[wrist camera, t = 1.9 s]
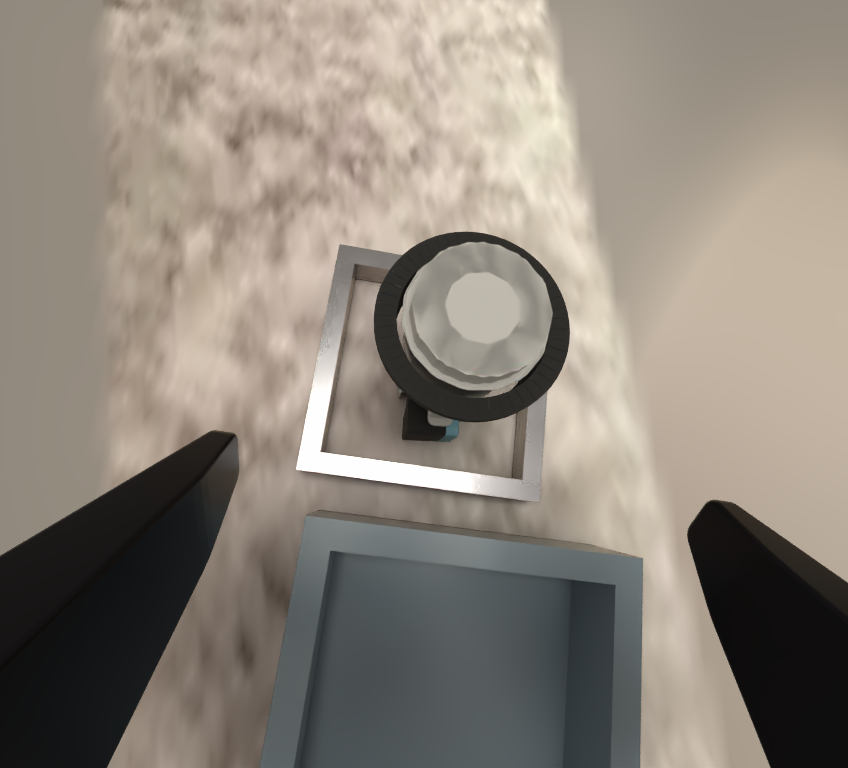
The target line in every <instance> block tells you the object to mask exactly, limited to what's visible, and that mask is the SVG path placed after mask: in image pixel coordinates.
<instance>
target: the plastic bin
mask: <svg viewBox="0 0 848 768" xmlns="http://www.w3.org/2000/svg"><path fill="white" fill-rule="evenodd" d="M642 589H643V558H640V557H636V556H632V555H628V554H624V553H620V552H617V551H613V550H609V549H605V548H601V547H597V546H594V545H589V544H581V543H573V542H566V541H558V540H550V539H542V538H534V537H527V536H519V535H511V534H503V533H495V532H487V531H480V530H472V529H464V528H456V527H448V526H441V525H433V524H425V523H417V522H409V521H401V520H394V519H386V518H378V517H370V516H362V515H355V514H347V513H339V512H331V511H323V510H317V511H315V512H313V513H311V514H308V515H306V517H305V522H304V528H303V533H302V538H301V544H300V549H299V555H298V560H297V566H296V571H295V577H294V582H293V587H292V593H291V598H290V604H289V609H288V615H287V620H286V625H285V631H284V636H283V642H282V647H281V653H280V658H279V664H278V669H277V674H276V680H275V685H274V691H273V696H272V702H271V707H270V713H269V718H268V723H267V729H266V734H265V740H264V745H263V751H262V756H261V762H260V767H259V768H640V728H641V659H642Z"/></svg>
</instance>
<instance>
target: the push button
mask: <svg viewBox="0 0 848 768" xmlns="http://www.w3.org/2000/svg"><path fill="white" fill-rule="evenodd" d="M402 306H403V310H402V327H403V330H404V336H403V343H404V347H405V351H406V355H405V353H404V351H403V348H402V346H401V343H400V340H399V336H398V331H397V322H396V319H397V316H398V313H399V311H400V309H401V307H402ZM374 333H375V341H376V345H377V349H378V352H379V355H380V358H381V361H382V363H383V365H384V367H385V369H386V371H387V372H388V374H389V375H390V377H391V378H392V380H393V381H394V382H395V384H396V385H397V386H398V387H399V390H398V398H400V397H401V393H405V394H406V396H407V404H406V409H405V413H404V417H403V430H402V439H403V440H423V441H444V442H450V441H451V440H452V439H454V438H456V437H457V436H458V431H459V421H463V422H487V421H493V420H498V419H502V418H505V417H508V416H510V415H513V414H515V413H517V412H519V411H521V410H523V409H525V408H527V407H529V406H530V405H531V404H533V403H534V402H536V401H537V400H538V399H539V398H540V397H542V396H543V395H544V394H545V393H546V392H547V391H548V389H549V388H550V387H551V386H552V385H553V383H554V382H555V380H556V379H557V377H558V375H559V373H560V372H561V370H562V367H563V365H564V362H565V359H566V356H567V352H568V346H569V337H570V328H569V318H568V312H567V309H566V305H565V302H564V299H563V297H562V294H561V292H560V290H559V288H558V286H557V284H556V283H555V281H554V280H553V278H552V277H551V275H550V274H549V273H548V271H547V270H546V269H545V268H544V267H543V266H542V265H541V264H540V263H539V261H537V260H536V259H535V258H534V257H533V256H532V255H530V254H529V253H528V252H526V251H525V250H523V249H522V248H520V247H519V246H517V245H515V244H513V243H511V242H509V241H507V240H505V239H502V238H499V237H496V236H493V235H489V234H484V233H477V232H454V233H447V234H443V235H439V236H435V237H433V238H430V239H427V240H425V241H423V242H421V243H419V244H417V245H416V246H414V247H413V248H411V249H410V250H408V251H407V252H406V253H405V254H403V255H402V256H401V257H400V258H399V259H398V260H397V261H396V262H395V264H394V265H393V266H392V267H391V269H390V270H389V272H388V273H387V275H386V276H385V278H384V280H383V282H382V284H381V287H380V289H379V292H378V295H377V300H376V304H375V312H374ZM518 380H519V382H518V383H517V384H516V385H515V387H514V388H513V389H512V390H511V391H509V392H506V393H503V394H500V395H497V396H492V397H486V398H481V397H484V396H485V395H487V394H488V393H489V392H491V391H492V390H496V389H501V388H503V387H505V386H507V385H509V384H512V383H514V382H516V381H518Z"/></svg>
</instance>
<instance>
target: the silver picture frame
mask: <svg viewBox="0 0 848 768" xmlns="http://www.w3.org/2000/svg"><path fill="white" fill-rule="evenodd" d="M401 256H402V255H398V254H392V253H386V252H381V251H375V250H369V249H364V248H358V247H352V246H347V245H341V244H340V245H339V250H338V255H337V260H336V266H335V271H334V276H333V281H332V286H331V292H330V297H329V302H328V307H327V312H326V317H325V323H324V328H323V333H322V338H321V343H320V349H319V354H318V359H317V364H316V369H315V374H314V380H313V385H312V390H311V395H310V400H309V405H308V411H307V416H306V421H305V426H304V431H303V437H302V442H301V447H300V452H299V457H298V462H297V468H296V470H300V471H307V472H314V473H321V474H329V475H336V476H344V477H351V478H359V479H366V480H373V481H381V482H388V483H396V484H403V485H411V486H418V487H425V488H433V489H440V490H448V491H455V492H463V493H470V494H477V495H485V496H492V497H500V498H507V499H515V500H522V501H530V502H540V491H541V476H542V462H543V447H544V432H545V417H546V402H547V392H546V393H545V394H544V395H543V396H542V397H540V398H539V399H538V400H537V401H536V402H534V403H533V404H531V405H530V406H529V407H527V408H525V409H523V410H521V411H519V412H517V422H516V434H515V446H514V459H513V471H512V479H511V478H503V477H496V476H489V475H482V474H474V473H467V472H460V471H453V470H446V469H438V468H431V467H424V466H417V465H409V464H402V463H395V462H388V461H381V460H373V459H366V458H359V457H352V456H344V455H337V454H330V453H324V451H325V445H326V440H327V434H328V429H329V423H330V418H331V412H332V407H333V401H334V395H335V390H336V384H337V379H338V373H339V368H340V362H341V357H342V351H343V346H344V340H345V334H346V329H347V323H348V318H349V312H350V307H351V301H352V296H353V290H354V285H355V279H361V280H367V281H373V282H379V283H382V282H383V280H384V278H385V276H386V275H387V273H388V272H389V270H390V269H391V267H392V266H393V265H394V264H395V262H396V261H397V260H398V259H399V258H400V257H401Z"/></svg>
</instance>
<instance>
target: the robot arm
mask: <svg viewBox="0 0 848 768" xmlns="http://www.w3.org/2000/svg"><path fill="white" fill-rule="evenodd" d="M238 475H239V450H238V438H237V436H236V435H235V434H234V433H231V432H224V431H217V430H213V431H210V432H208V433H206V434H205V435H203V436H201V437H200V438H198V439H196V440H195V441H193V442H191V443H189V444H188V445H186V446H184V447H183V448H181V449H179V450H178V451H176V452H174V453H173V454H171V455H169V456H168V457H166V458H164V459H162V460H161V461H159V462H157V463H156V464H154V465H152V466H151V467H149V468H147V469H146V470H144V471H142V472H141V473H139V474H137V475H135V476H134V477H132V478H130V479H129V480H127V481H125V482H124V483H122V484H120V485H119V486H117V487H115V488H114V489H112V490H110V491H108V492H107V493H105V494H103V495H102V496H100V497H98V498H97V499H95V500H93V501H92V502H90V503H88V504H87V505H85V506H83V507H82V508H80V509H78V510H77V511H75V512H73V513H71V514H70V515H68V516H66V517H65V518H63V519H61V520H60V521H58V522H56V523H55V524H53V525H51V526H49V527H48V528H46V529H44V530H43V531H41V532H40V533H38V534H36V535H34V536H33V537H31V538H29V539H28V540H26V541H24V542H23V543H21V544H19V545H17V546H16V547H14V548H12V549H11V550H9V551H7V552H6V553H4V554H2V555H1V556H0V768H107V766H108V764H109V762H110V760H111V758H112V756H113V754H114V752H115V750H116V748H117V746H118V744H119V742H120V740H121V738H122V736H123V734H124V732H125V730H126V728H127V726H128V724H129V722H130V719H131V717H132V715H133V713H134V711H135V709H136V707H137V705H138V703H139V701H140V699H141V697H142V695H143V693H144V691H145V689H146V687H147V685H148V683H149V681H150V679H151V677H152V675H153V673H154V671H155V668H156V666H157V664H158V662H159V660H160V658H161V656H162V654H163V652H164V650H165V648H166V646H167V644H168V642H169V640H170V638H171V636H172V634H173V632H174V630H175V628H176V626H177V624H178V622H179V620H180V617H181V615H182V613H183V611H184V609H185V607H186V605H187V603H188V601H189V599H190V597H191V595H192V593H193V591H194V589H195V587H196V585H197V583H198V581H199V579H200V577H201V575H202V573H203V571H204V568H205V566H206V564H207V562H208V560H209V557H210V555H211V552H212V549H213V547H214V544H215V541H216V539H217V536H218V533H219V530H220V527H221V524H222V522H223V519H224V516H225V513H226V510H227V508H228V505H229V502H230V499H231V496H232V494H233V491H234V488H235V485H236V482H237V479H238ZM687 537H688V542H689V546H690V549H691V552H692V556H693V559H694V563H695V566H696V570H697V573H698V576H699V580H700V583H701V587H702V590H703V593H704V596H705V600H706V604H707V607H708V610H709V613H710V616H711V619H712V621H713V624H714V627H715V629H716V632H717V634H718V637H719V639H720V642H721V645H722V647H723V650H724V652H725V655H726V657H727V660H728V662H729V665H730V667H731V669H732V672H733V674H734V677H735V679H736V682H737V684H738V687H739V690H740V692H741V695H742V697H743V699H744V702H745V705H746V707H747V710H748V712H749V715H750V717H751V720H752V722H753V725H754V727H755V730H756V732H757V735H758V737H759V740H760V743H761V745H762V748H763V750H764V753H765V755H766V758H767V760H768V763H769V765H770V767H771V768H848V583H847V582H846V581H844V580H843V579H841V578H840V577H839V576H837V575H836V574H835V573H833V572H832V571H830V570H829V569H827V568H826V567H825V566H823V565H822V564H820V563H819V562H817V561H816V560H815V559H813V558H812V557H810V556H809V555H807V554H806V553H804V552H803V551H802V550H800V549H799V548H797V547H796V546H795V545H793V544H791V543H790V542H789V541H787V540H786V539H785V538H783V537H782V536H780V535H779V534H777V533H776V532H775V531H773V530H772V529H770V528H769V527H767V526H766V525H764V524H763V523H762V522H760V521H759V520H757V519H756V518H755V517H753V516H752V515H750V514H749V513H747V512H746V511H745V510H743V509H742V508H740V507H739V506H738V505H736V504H734V503H731V502H726V501H719V500H710V501H709V502H707V503H706V504H705V505H704V506H703V508H702V509H701V511H700V512H699V513H698V515H697V516H696V518H695V519H694V520H693V522H692V523H691V525H690V526H689V528H688V533H687Z"/></svg>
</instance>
